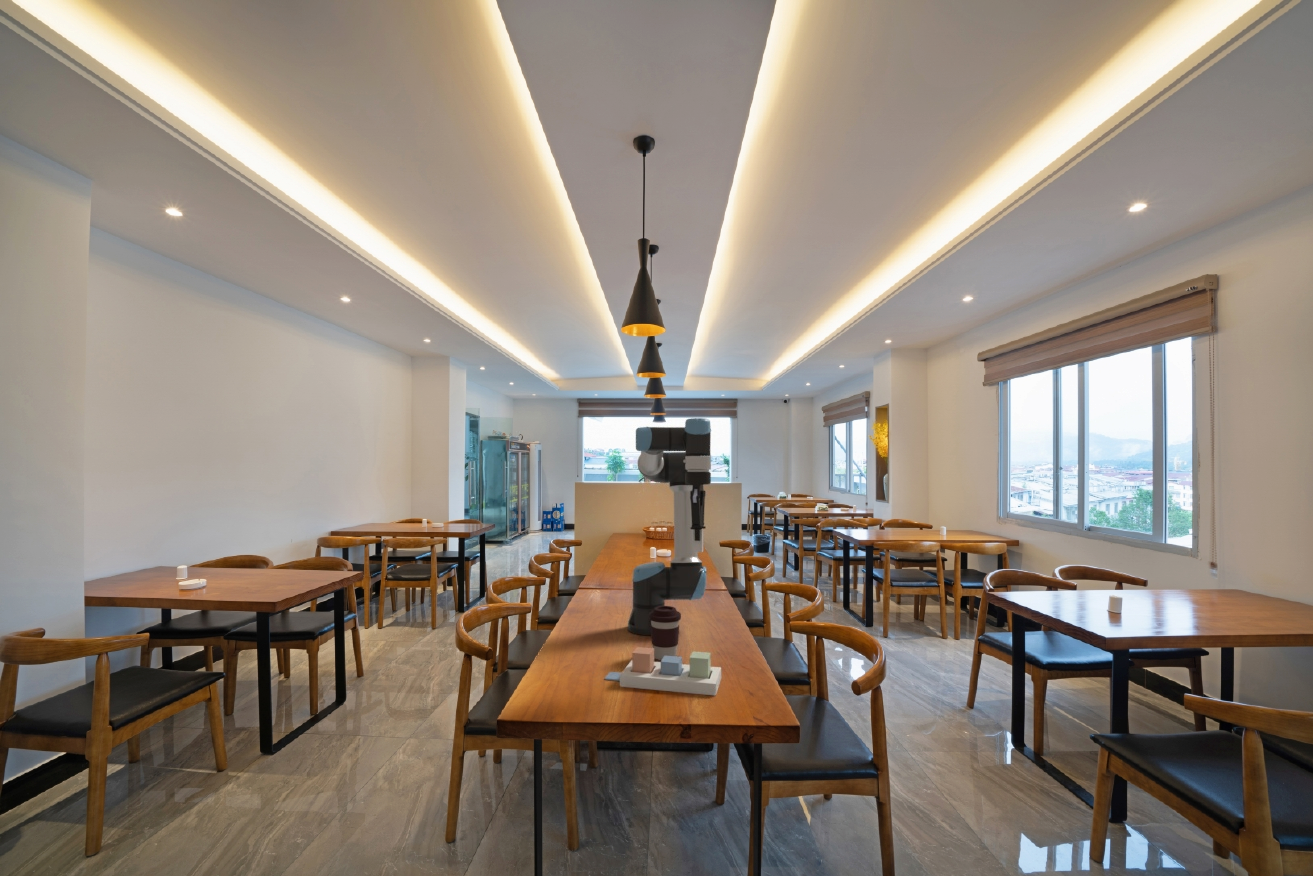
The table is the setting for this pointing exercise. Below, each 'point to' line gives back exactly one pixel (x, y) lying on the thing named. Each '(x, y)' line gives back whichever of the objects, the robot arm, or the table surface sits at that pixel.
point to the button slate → (671, 665)
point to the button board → (671, 680)
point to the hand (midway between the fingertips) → (698, 551)
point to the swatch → (613, 676)
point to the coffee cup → (664, 631)
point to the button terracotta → (643, 660)
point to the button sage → (700, 665)
